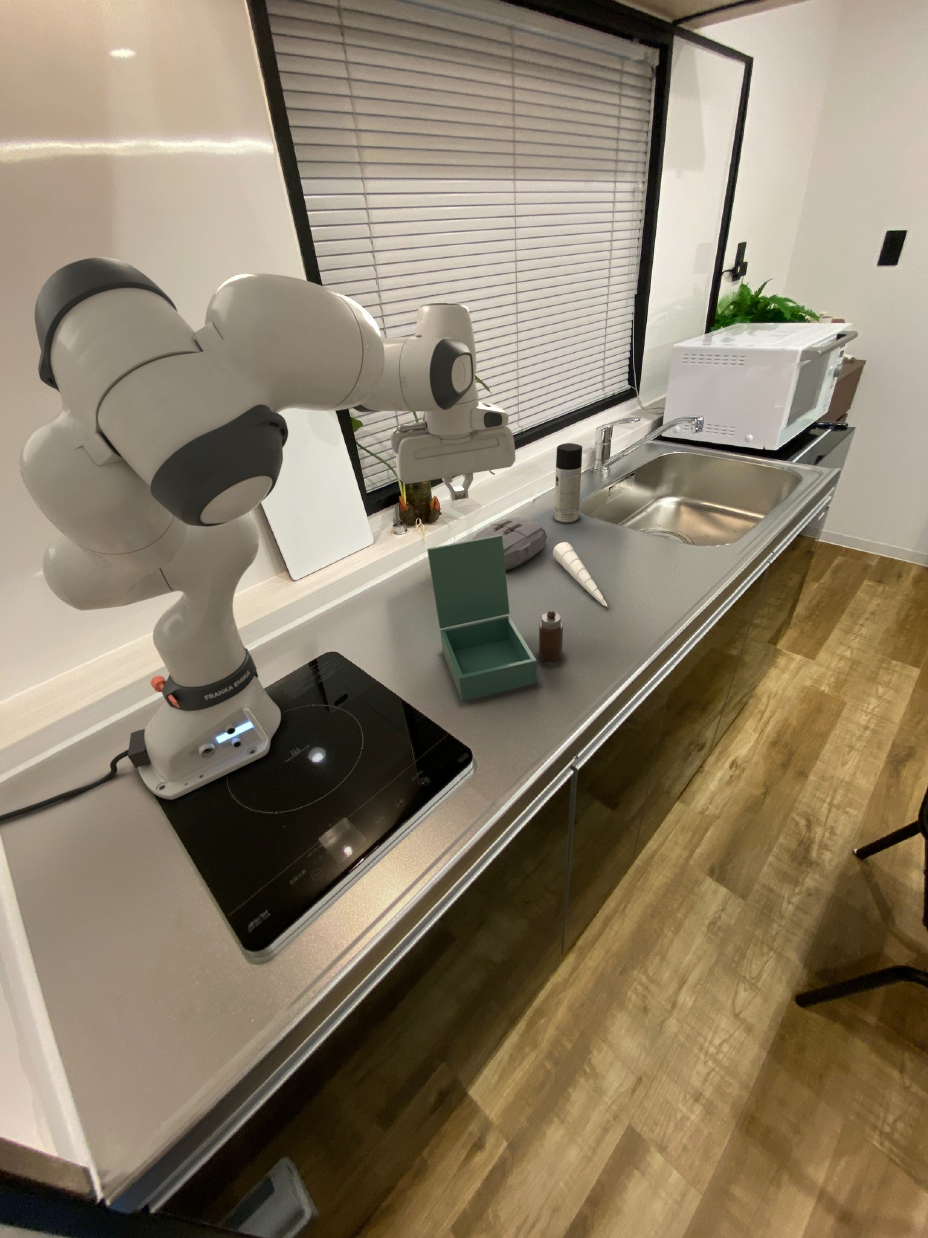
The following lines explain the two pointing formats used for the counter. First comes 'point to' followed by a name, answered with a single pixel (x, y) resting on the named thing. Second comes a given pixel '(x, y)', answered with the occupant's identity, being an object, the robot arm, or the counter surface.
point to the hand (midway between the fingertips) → (459, 498)
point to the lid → (469, 580)
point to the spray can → (568, 482)
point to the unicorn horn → (576, 569)
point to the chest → (488, 657)
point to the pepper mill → (550, 637)
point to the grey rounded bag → (517, 539)
